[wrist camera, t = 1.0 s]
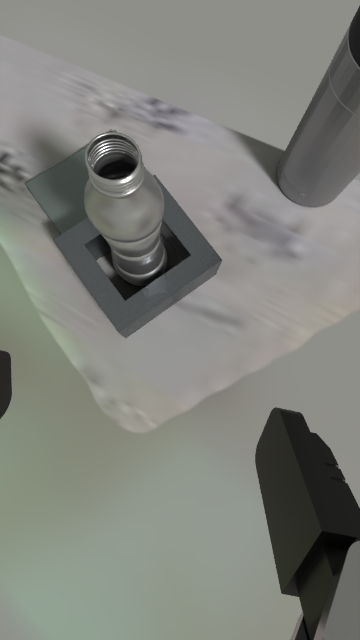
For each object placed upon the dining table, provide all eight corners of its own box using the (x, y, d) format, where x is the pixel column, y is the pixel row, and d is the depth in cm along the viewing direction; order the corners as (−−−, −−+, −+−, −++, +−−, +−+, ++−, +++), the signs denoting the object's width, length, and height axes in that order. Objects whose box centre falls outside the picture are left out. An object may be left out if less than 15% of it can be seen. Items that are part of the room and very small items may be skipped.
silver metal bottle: (144, 300, 39) (118, 224, 19) (105, 267, 39) (39, 158, 19) (178, 264, 40) (186, 154, 20) (138, 231, 40) (108, 94, 20)
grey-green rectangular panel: (116, 135, 42) (115, 129, 41) (154, 183, 41) (153, 179, 40) (28, 188, 41) (25, 183, 40) (65, 240, 40) (63, 237, 39)
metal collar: (156, 198, 41) (154, 174, 36) (215, 274, 39) (222, 259, 34) (67, 256, 39) (52, 239, 34) (125, 338, 38) (118, 332, 33)
